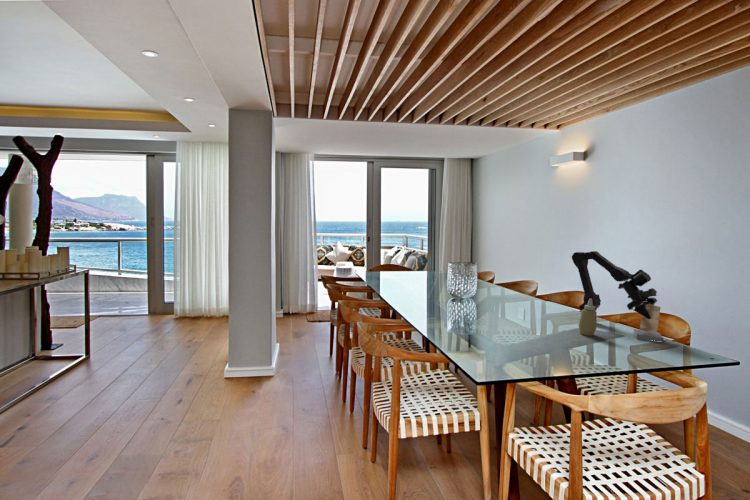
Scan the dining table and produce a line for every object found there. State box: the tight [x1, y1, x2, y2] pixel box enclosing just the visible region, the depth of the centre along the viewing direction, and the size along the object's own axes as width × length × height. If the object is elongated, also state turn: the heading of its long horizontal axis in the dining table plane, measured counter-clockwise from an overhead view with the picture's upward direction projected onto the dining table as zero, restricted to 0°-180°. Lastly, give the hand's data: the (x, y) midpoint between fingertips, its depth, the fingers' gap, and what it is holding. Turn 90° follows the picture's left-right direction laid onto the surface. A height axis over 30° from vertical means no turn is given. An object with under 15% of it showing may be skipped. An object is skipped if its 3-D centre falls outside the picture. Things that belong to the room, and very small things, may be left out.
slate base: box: [633, 328, 664, 342], centre depth 224 cm, size 11×11×2 cm
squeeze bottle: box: [578, 299, 597, 337], centre depth 223 cm, size 8×8×18 cm
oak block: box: [639, 304, 661, 333], centre depth 223 cm, size 6×6×12 cm
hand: (653, 318), depth 222 cm, fingers closed on oak block, 5 cm apart
